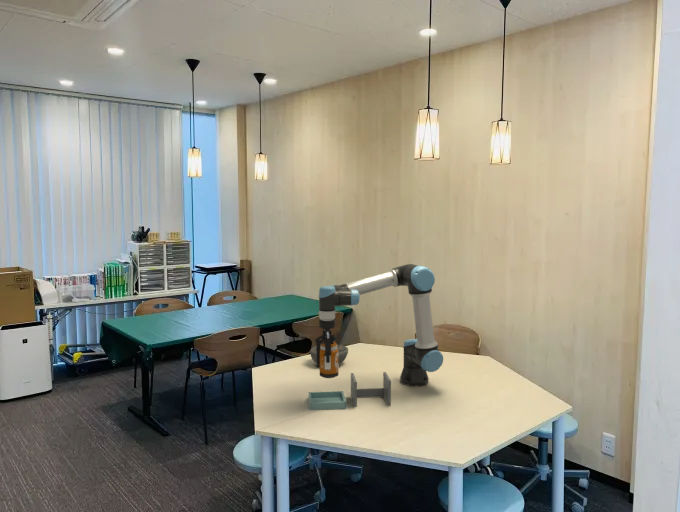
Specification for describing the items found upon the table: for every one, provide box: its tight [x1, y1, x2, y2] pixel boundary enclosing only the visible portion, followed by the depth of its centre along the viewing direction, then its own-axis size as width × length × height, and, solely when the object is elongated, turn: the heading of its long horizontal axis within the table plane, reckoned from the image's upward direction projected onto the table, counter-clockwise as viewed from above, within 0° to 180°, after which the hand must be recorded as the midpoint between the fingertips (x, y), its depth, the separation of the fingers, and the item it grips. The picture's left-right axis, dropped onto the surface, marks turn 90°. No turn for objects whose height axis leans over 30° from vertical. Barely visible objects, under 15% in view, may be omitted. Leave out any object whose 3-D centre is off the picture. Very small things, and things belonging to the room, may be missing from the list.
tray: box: [308, 390, 348, 411], centre depth 253 cm, size 17×15×3 cm
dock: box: [350, 371, 392, 408], centre depth 256 cm, size 17×14×12 cm
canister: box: [314, 334, 339, 379], centre depth 251 cm, size 9×11×20 cm
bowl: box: [309, 344, 349, 365], centre depth 316 cm, size 23×22×10 cm
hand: (326, 365), depth 252 cm, fingers closed on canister, 9 cm apart
